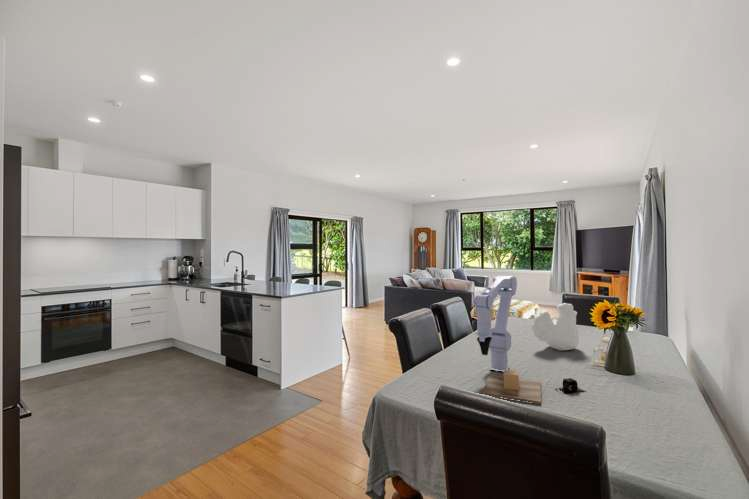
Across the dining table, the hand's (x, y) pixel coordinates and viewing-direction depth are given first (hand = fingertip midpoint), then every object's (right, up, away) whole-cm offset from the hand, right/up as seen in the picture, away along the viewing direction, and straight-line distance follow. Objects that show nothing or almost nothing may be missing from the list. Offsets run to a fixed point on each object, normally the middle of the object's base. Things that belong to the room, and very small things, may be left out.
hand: (484, 354), depth 143 cm
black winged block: (+28, -10, -14) cm, 33 cm away
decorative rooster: (+51, -9, +40) cm, 66 cm away
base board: (+7, -10, -12) cm, 17 cm away
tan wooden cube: (+7, -9, -12) cm, 16 cm away
